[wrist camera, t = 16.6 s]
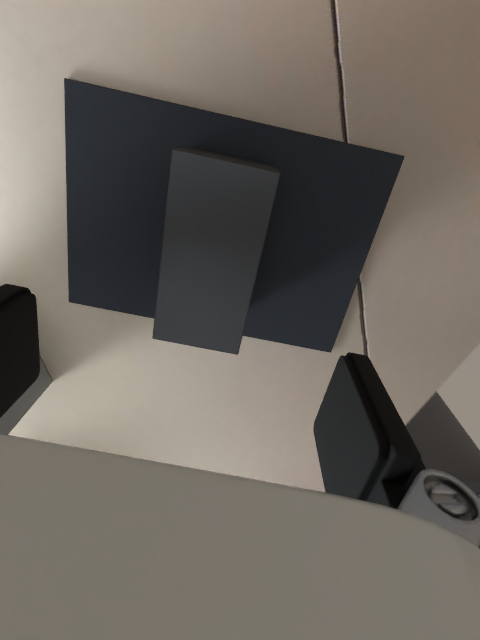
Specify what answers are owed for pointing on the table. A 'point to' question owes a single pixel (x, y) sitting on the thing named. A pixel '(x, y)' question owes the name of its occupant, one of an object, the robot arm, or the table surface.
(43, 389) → the perfume bottle
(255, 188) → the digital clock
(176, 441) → the table surface
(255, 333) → the rubber mat
